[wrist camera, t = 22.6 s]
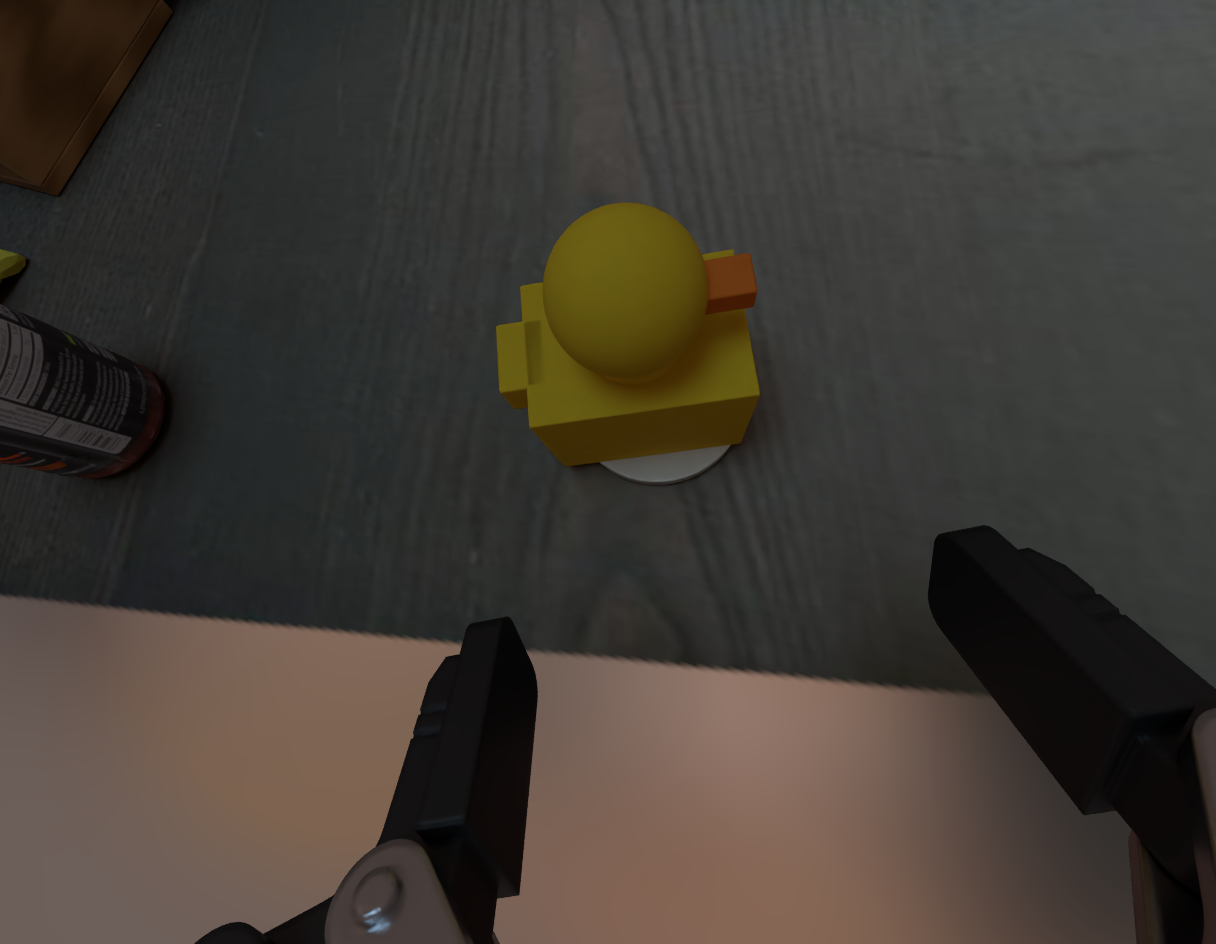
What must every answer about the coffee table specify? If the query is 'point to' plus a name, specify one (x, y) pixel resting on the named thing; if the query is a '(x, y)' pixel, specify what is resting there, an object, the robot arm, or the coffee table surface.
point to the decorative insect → (10, 263)
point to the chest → (65, 79)
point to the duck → (632, 341)
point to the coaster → (666, 465)
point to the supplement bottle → (71, 402)
